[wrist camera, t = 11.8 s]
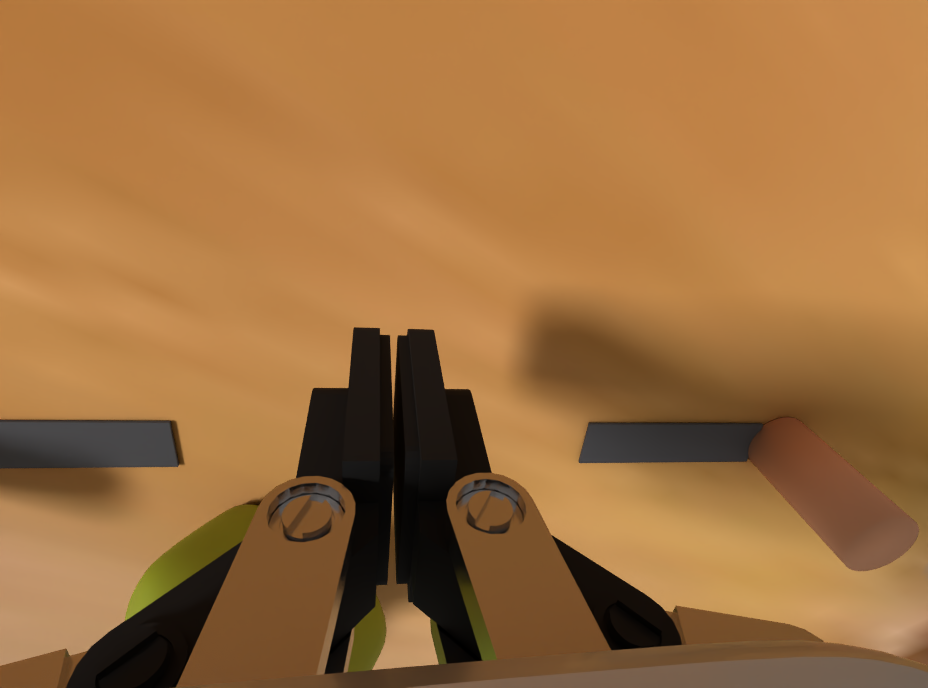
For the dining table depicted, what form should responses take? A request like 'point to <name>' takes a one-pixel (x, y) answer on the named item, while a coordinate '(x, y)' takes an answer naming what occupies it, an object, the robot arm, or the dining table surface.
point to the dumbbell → (215, 543)
